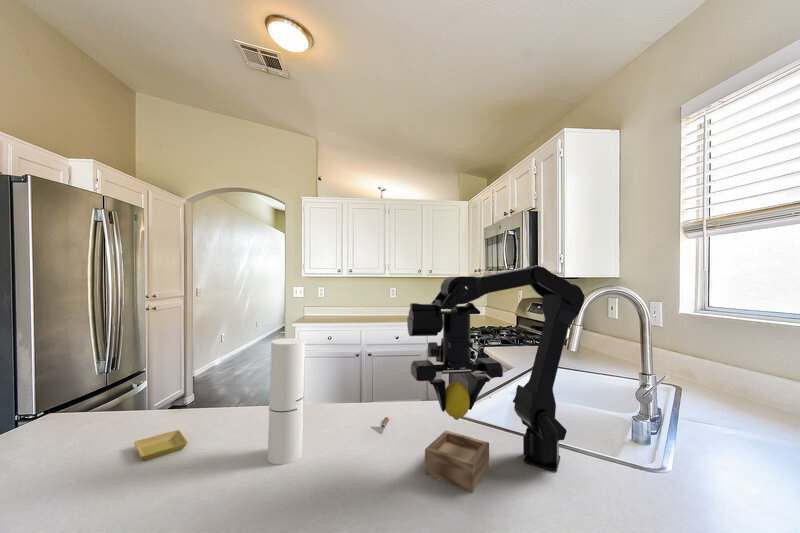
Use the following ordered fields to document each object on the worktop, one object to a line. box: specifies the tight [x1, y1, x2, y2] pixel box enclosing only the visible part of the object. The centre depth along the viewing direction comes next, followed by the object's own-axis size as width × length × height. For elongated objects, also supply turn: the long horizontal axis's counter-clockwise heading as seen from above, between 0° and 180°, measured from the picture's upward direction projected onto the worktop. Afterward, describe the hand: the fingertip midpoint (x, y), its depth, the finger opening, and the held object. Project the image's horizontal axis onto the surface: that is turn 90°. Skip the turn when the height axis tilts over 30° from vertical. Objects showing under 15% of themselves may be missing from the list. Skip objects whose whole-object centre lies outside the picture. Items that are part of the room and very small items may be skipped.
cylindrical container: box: [267, 338, 306, 465], centre depth 72 cm, size 7×7×25 cm
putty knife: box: [370, 416, 389, 435], centre depth 85 cm, size 13×1×5 cm
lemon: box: [445, 380, 470, 421], centre depth 69 cm, size 6×6×8 cm
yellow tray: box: [134, 429, 189, 462], centre depth 73 cm, size 9×9×2 cm
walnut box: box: [424, 430, 490, 493], centre depth 67 cm, size 10×10×5 cm
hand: (456, 410), depth 68 cm, fingers closed on lemon, 5 cm apart
